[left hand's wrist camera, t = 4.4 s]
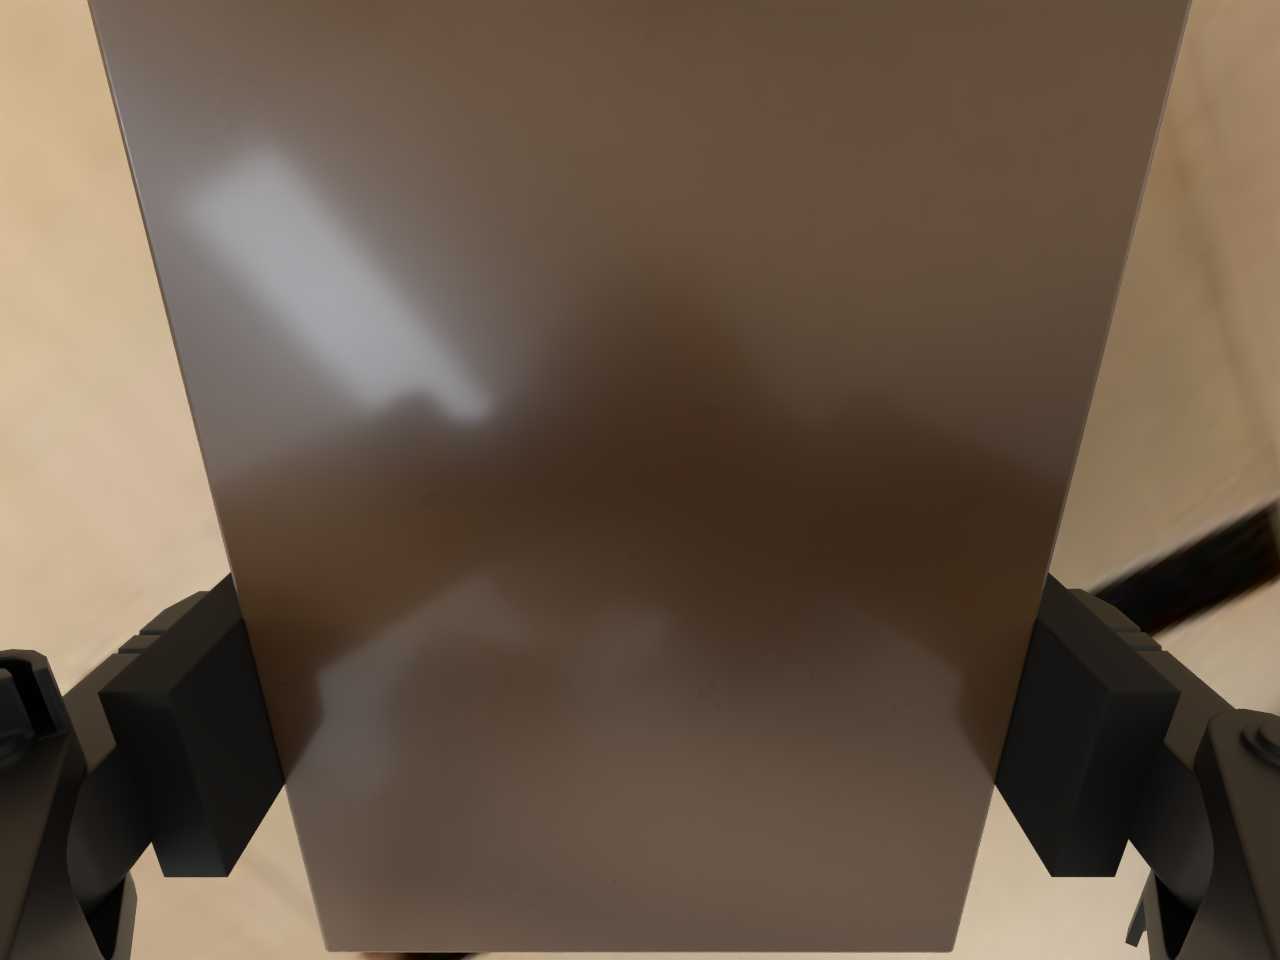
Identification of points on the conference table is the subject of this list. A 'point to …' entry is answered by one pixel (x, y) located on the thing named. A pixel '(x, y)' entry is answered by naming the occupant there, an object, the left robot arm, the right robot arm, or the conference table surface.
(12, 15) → the conference table surface
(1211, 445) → the conference table surface
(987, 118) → the cabinet
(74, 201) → the conference table surface
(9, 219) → the conference table surface
